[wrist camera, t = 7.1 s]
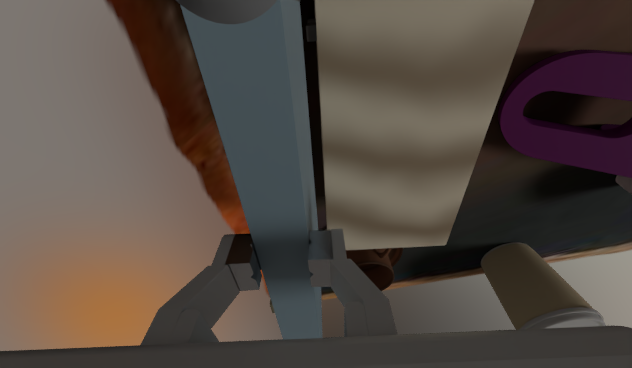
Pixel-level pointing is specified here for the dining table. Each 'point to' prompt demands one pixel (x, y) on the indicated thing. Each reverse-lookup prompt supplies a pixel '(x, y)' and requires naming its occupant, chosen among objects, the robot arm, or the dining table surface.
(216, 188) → the dining table surface
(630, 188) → the smoothie
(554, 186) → the dining table surface
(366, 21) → the cabinet
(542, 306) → the coffee cup
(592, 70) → the mounting bracket
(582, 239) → the dining table surface
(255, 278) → the robot arm
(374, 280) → the cup and saucer
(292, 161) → the door
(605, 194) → the dining table surface
